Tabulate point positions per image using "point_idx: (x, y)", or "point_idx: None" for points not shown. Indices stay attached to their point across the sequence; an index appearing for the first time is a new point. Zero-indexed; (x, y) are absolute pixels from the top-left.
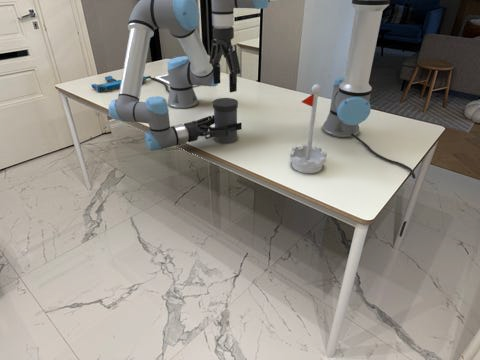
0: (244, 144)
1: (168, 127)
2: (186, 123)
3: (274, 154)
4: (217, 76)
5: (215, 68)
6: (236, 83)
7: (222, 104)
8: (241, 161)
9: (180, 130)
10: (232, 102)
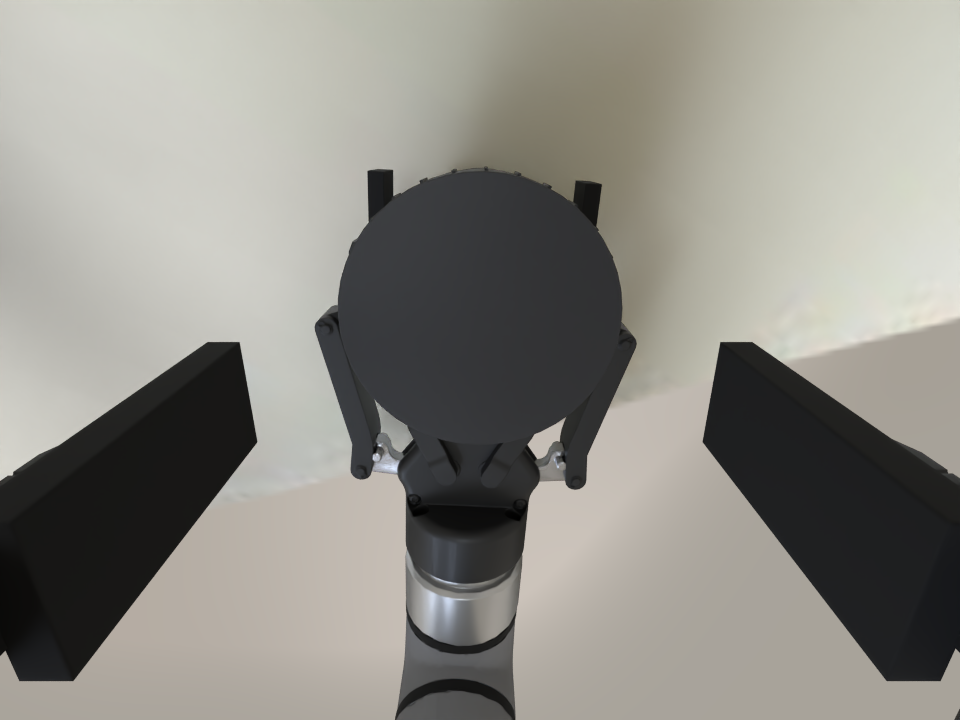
0: (628, 192)
1: (504, 705)
2: (456, 577)
3: (872, 101)
4: (187, 451)
5: (79, 617)
6: (830, 399)
7: (527, 381)
8: (777, 328)
9: (502, 615)
10: (539, 259)
